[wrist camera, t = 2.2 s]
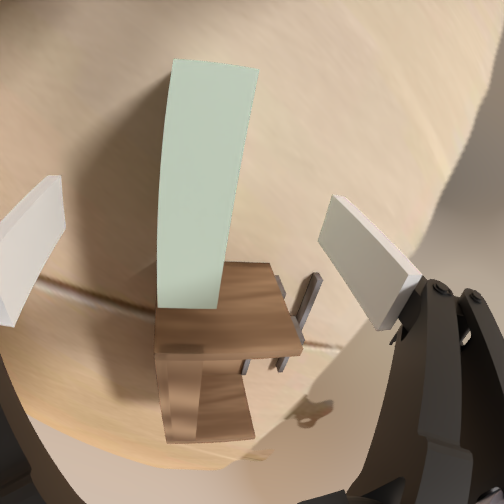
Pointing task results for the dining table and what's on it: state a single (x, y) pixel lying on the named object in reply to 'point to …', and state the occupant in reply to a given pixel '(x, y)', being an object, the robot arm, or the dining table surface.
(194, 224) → the door
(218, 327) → the cabinet
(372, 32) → the dining table surface
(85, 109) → the dining table surface
